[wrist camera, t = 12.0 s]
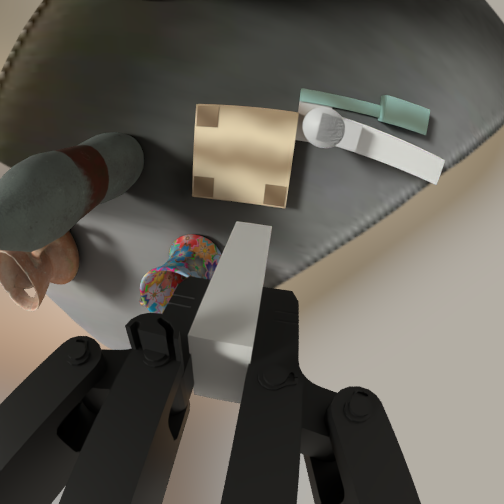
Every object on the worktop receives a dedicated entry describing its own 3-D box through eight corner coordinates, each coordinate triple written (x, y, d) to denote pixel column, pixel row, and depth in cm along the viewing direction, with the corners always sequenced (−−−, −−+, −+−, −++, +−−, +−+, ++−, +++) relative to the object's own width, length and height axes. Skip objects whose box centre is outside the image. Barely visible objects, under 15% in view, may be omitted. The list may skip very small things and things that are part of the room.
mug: (208, 219, 39) (183, 258, 30) (237, 272, 43) (223, 319, 33) (146, 247, 43) (113, 286, 33) (175, 292, 46) (152, 336, 37)
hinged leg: (296, 134, 31) (298, 141, 24) (303, 103, 29) (308, 102, 22) (417, 176, 31) (444, 194, 24) (426, 149, 29) (456, 161, 22)
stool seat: (204, 71, 29) (185, 63, 23) (422, 109, 27) (448, 112, 21) (196, 191, 37) (178, 210, 31) (396, 222, 35) (414, 246, 29)
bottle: (127, 201, 39) (-23, 336, 13) (88, 165, 37) (-72, 263, 11) (160, 155, 35) (-34, 277, 9) (117, 116, 33) (-82, 186, 7)
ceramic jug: (66, 286, 51) (30, 328, 38) (27, 237, 46) (-15, 272, 33) (104, 246, 44) (57, 294, 32) (57, 186, 39) (0, 219, 27)
